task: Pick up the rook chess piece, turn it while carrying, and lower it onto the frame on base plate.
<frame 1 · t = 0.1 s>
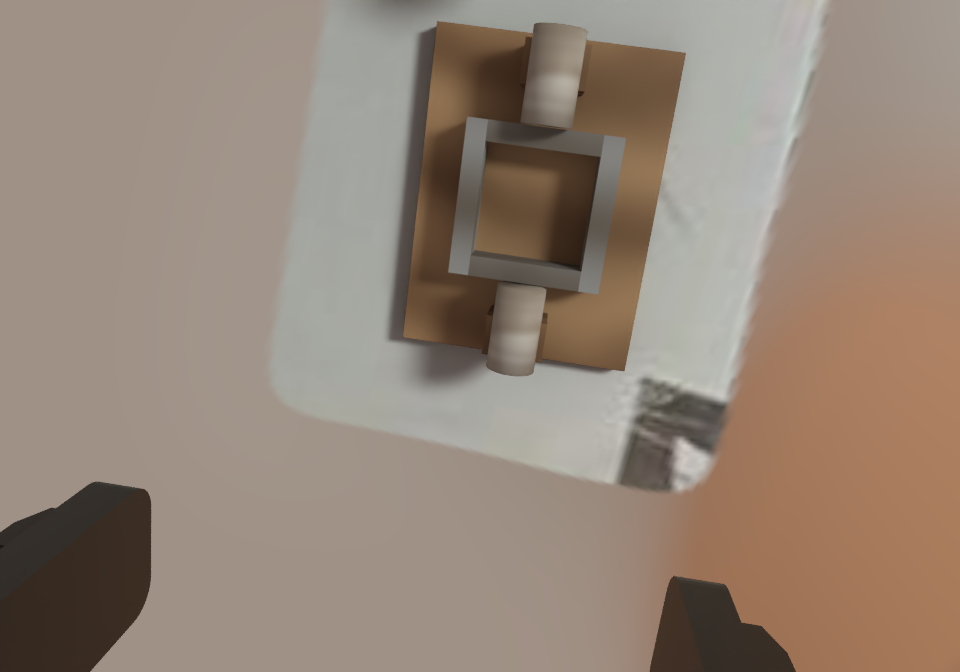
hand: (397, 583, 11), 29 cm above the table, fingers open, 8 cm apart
frame on base plate: (535, 202, 38), on the table
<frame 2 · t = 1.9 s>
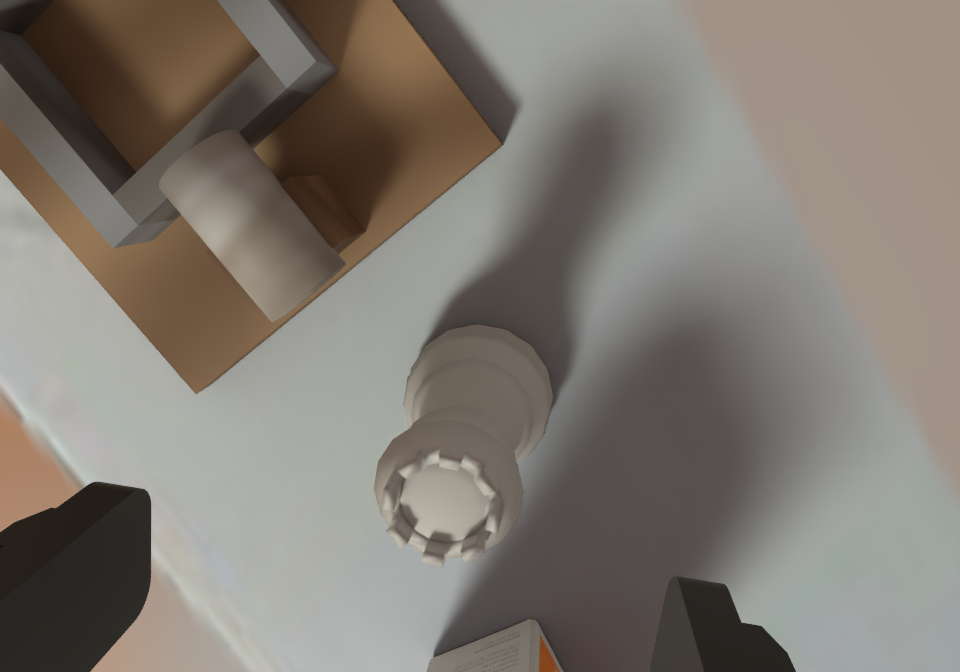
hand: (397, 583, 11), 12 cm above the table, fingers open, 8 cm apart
rook chess piece: (481, 388, 23), on the table
frame on base plate: (171, 55, 21), on the table
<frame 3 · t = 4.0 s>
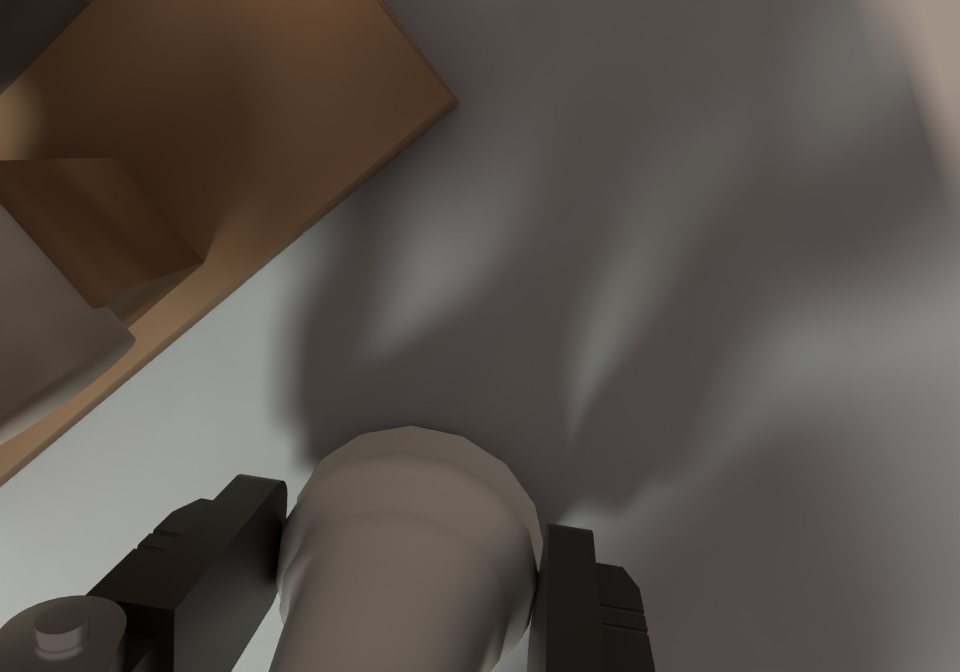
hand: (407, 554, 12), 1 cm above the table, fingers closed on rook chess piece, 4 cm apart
rook chess piece: (422, 525, 13), on the table, touching gripper
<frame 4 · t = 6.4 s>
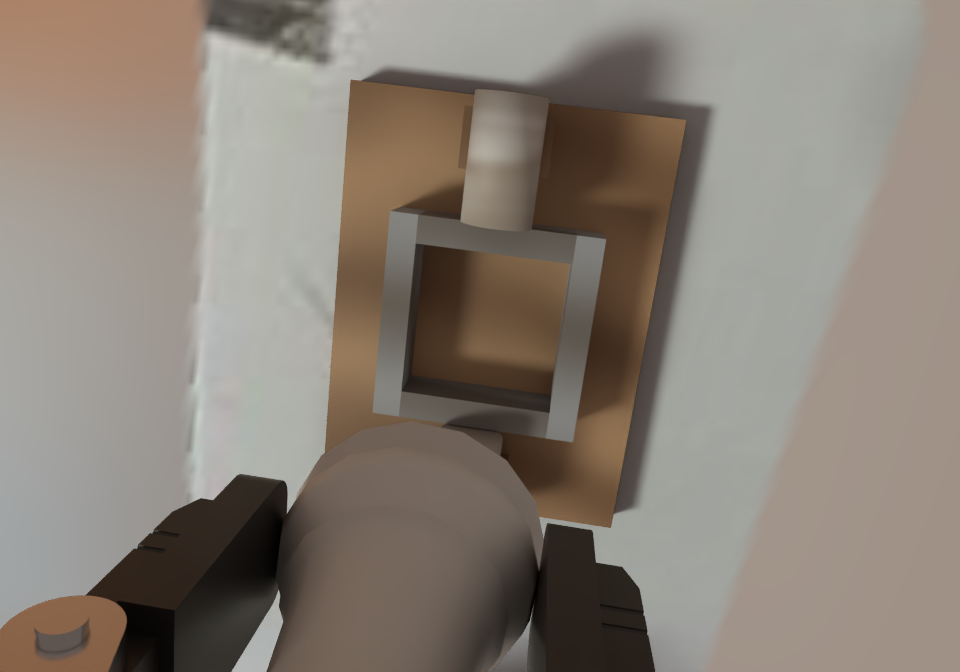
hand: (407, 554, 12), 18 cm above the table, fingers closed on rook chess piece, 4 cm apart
rook chess piece: (423, 522, 13), point 16 cm above the table, touching gripper
frame on base plate: (490, 311, 29), on the table
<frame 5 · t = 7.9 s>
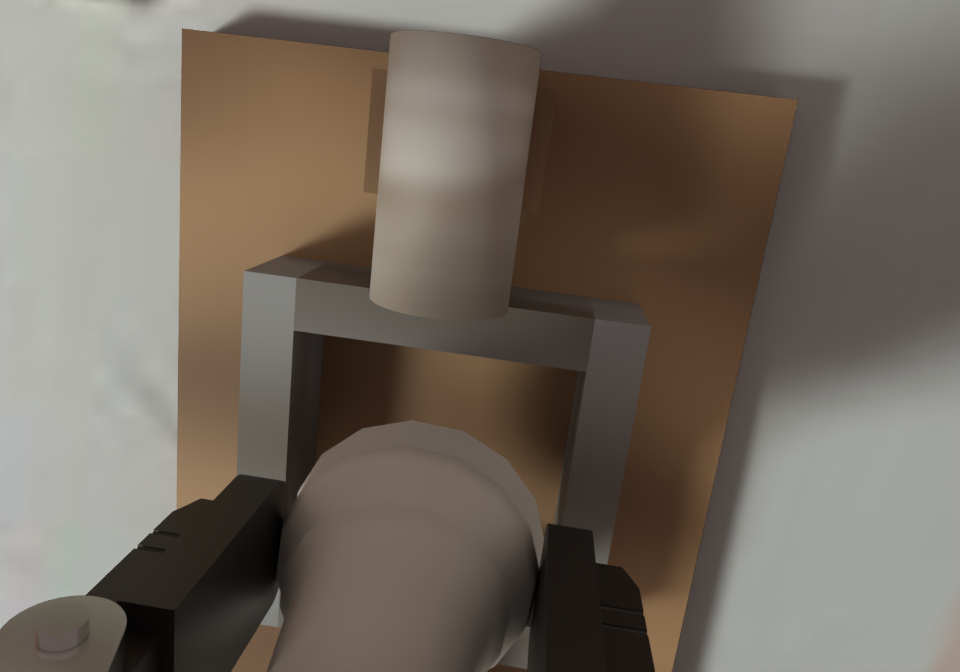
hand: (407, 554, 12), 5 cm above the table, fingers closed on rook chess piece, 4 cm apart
rook chess piece: (423, 520, 13), point 4 cm above the table, touching gripper
frame on base plate: (445, 428, 17), on the table
when the fingers open (4 cm above the table, at t = 8.9 s): rook chess piece drops 2 cm, resting on frame on base plate.
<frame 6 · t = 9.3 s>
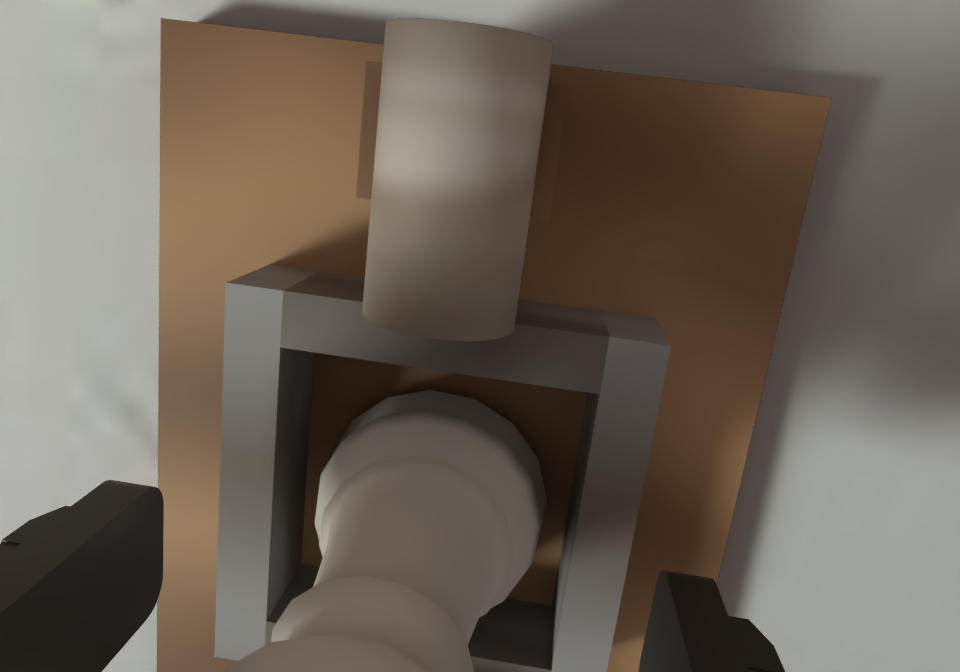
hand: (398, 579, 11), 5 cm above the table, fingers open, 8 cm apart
rook chess piece: (440, 480, 15), point 1 cm above the table, touching frame on base plate
frame on base plate: (445, 448, 16), on the table
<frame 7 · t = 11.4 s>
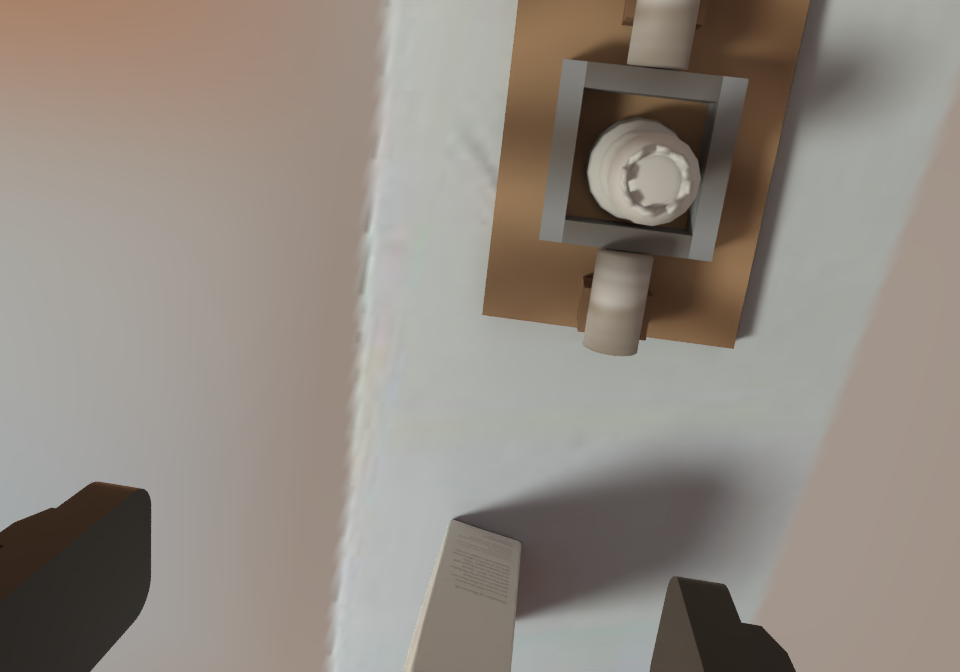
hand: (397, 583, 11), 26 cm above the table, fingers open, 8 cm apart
skincare box: (472, 570, 41), on the table
rook chess piece: (634, 168, 33), point 1 cm above the table, touching frame on base plate
frame on base plate: (632, 159, 34), on the table
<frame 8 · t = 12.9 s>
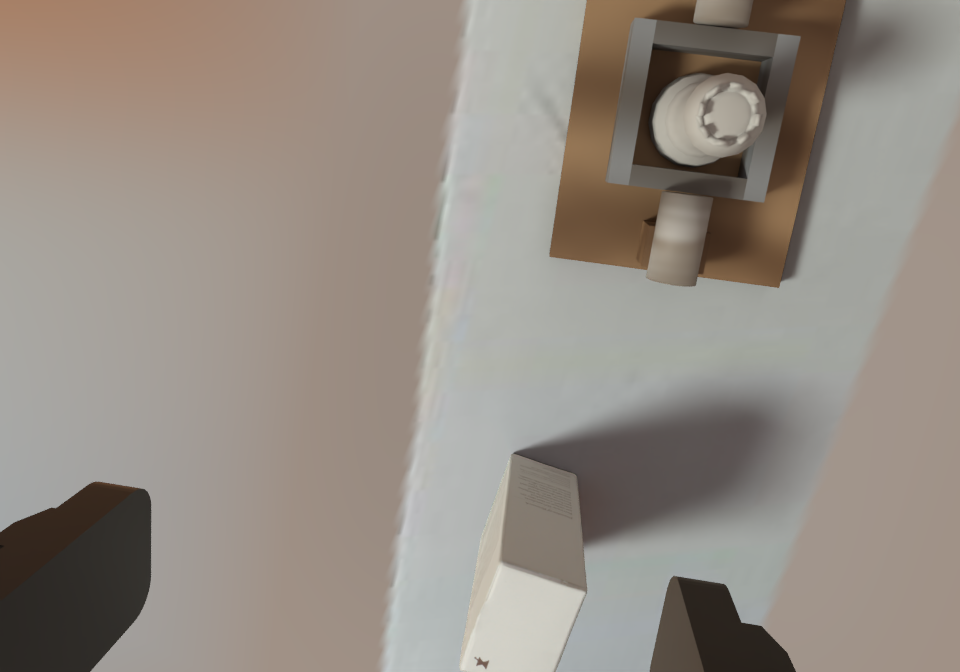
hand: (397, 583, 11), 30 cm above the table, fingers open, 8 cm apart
skincare box: (529, 502, 44), on the table
rook chess piece: (692, 121, 37), point 1 cm above the table, touching frame on base plate
frame on base plate: (689, 114, 37), on the table
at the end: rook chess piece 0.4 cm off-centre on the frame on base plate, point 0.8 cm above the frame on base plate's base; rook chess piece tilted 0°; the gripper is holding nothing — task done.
